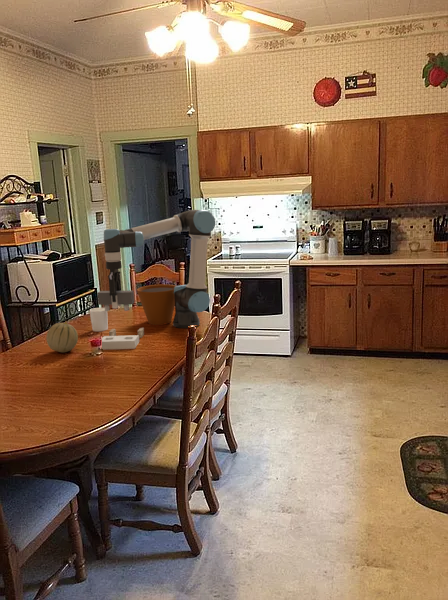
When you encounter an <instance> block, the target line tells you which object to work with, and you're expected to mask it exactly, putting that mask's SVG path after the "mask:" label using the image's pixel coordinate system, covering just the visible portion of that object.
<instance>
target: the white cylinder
mask: <svg viewBox="0 0 448 600" xmlns="http://www.w3.org/2000/svg"><path fill="white" fill-rule="evenodd" d="M89 316H90V317H89V318H90V323H91V327H92V332H105V331H107V330H109V324H108V323H109V322H108V321H109V320H108V318H109V317H108V311H105V307H94V308H90V309H89Z"/></svg>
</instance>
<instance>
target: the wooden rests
mask: <svg viewBox="0 0 448 600" xmlns="http://www.w3.org/2000/svg"><path fill="white" fill-rule="evenodd" d="M137 335H139V339H140V338H143V337H144V335H145V328H144V327H139V329H137ZM108 336H117V329H116V328H111V329H110V330H109V331H108Z"/></svg>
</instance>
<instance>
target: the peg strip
mask: <svg viewBox="0 0 448 600" xmlns="http://www.w3.org/2000/svg"><path fill="white" fill-rule="evenodd" d="M112 293H113V292H112ZM109 294H110V291H109V290H99V291H97V304H98V306H101V305H103V308H105V311H107V312H108V311H111V310H110V306H112V298H111V296H110V295H109ZM116 295H117V300H118V305H119V304H121V305H123V311H124V312H127V311H130V305H133V304H134V303H135V293H134V290H121V291H116Z"/></svg>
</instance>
